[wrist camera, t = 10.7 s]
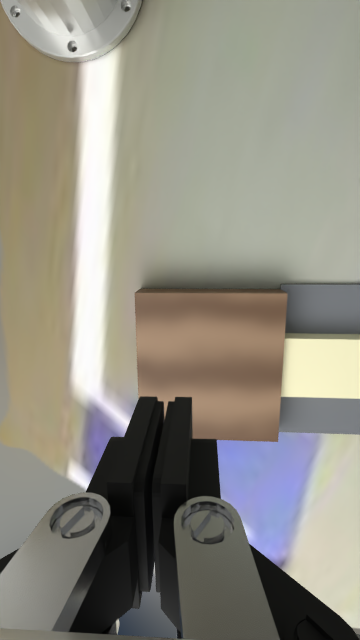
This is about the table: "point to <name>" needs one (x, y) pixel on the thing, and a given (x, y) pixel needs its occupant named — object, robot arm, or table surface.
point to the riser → (215, 357)
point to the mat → (321, 318)
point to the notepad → (321, 365)
